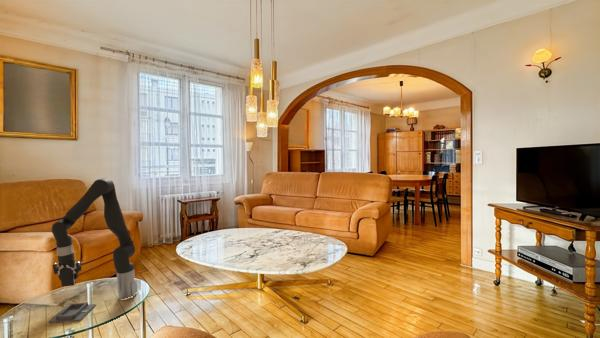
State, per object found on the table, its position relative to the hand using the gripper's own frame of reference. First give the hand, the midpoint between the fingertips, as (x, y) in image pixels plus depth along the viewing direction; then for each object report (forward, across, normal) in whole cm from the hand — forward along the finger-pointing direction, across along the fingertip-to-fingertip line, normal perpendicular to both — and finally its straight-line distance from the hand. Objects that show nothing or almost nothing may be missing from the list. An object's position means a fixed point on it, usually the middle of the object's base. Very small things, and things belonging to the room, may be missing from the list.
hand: (68, 279), depth 168 cm
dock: (+15, -8, +13) cm, 21 cm away
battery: (+4, 0, 0) cm, 4 cm away
